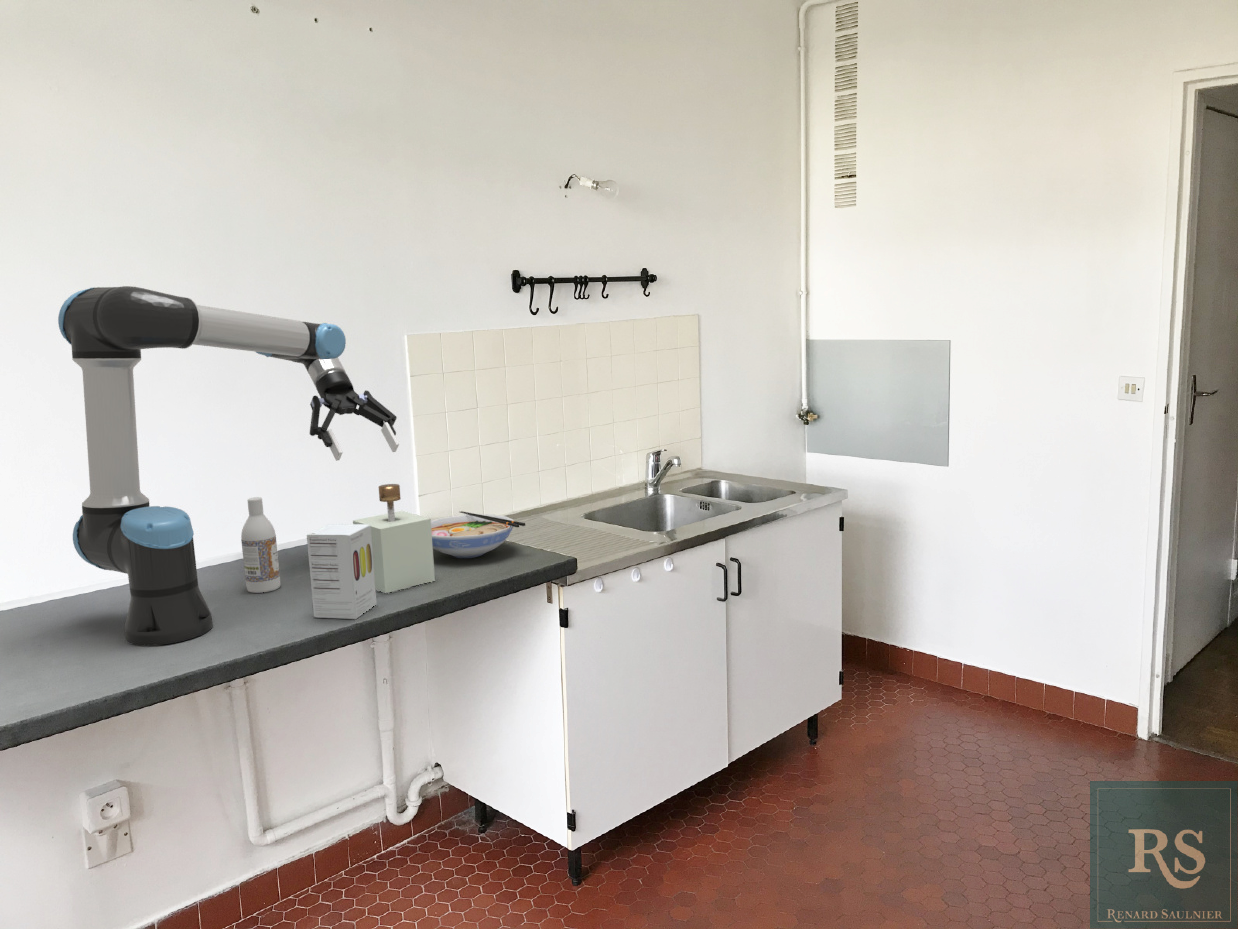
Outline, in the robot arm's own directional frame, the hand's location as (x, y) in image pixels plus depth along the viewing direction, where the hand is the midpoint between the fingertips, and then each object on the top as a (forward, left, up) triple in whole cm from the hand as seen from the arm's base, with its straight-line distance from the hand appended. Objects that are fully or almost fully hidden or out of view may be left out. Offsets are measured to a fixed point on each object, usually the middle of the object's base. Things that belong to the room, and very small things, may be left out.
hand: (368, 452), depth 212 cm
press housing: (0, -8, -28) cm, 29 cm away
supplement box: (-17, -18, -28) cm, 38 cm away
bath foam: (-22, +10, -28) cm, 37 cm away
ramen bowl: (+24, -1, -28) cm, 37 cm away
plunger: (0, -8, -25) cm, 26 cm away
